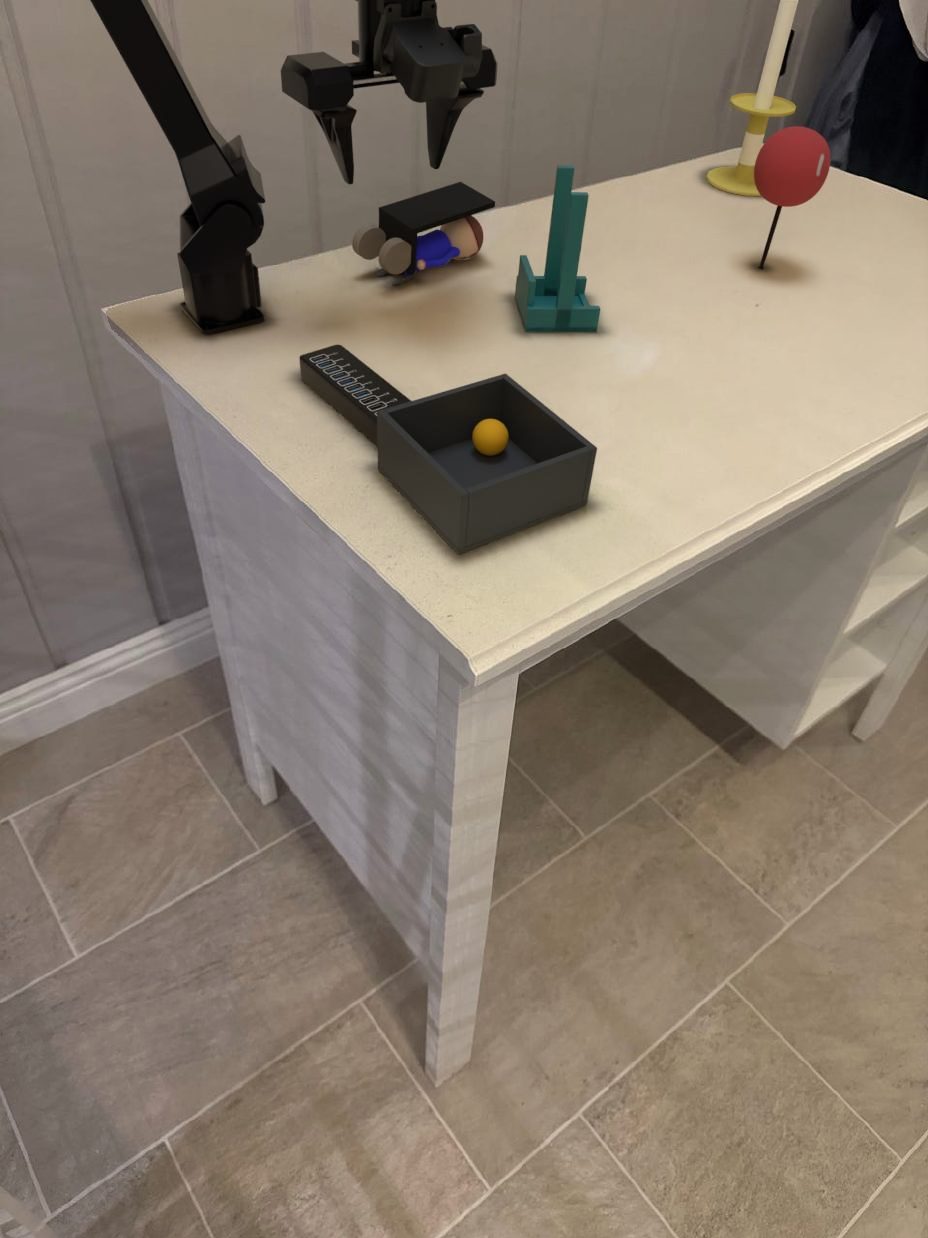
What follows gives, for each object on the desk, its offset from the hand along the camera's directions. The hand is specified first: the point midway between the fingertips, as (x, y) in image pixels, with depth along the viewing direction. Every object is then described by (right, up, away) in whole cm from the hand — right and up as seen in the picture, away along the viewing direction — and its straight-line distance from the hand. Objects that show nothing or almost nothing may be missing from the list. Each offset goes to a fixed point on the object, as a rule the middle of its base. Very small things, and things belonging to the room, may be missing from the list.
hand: (392, 175), depth 86 cm
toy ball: (+9, -26, -10) cm, 30 cm away
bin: (+8, -31, -12) cm, 34 cm away
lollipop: (+41, -1, +21) cm, 46 cm away
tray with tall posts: (+16, -10, +10) cm, 21 cm away
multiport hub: (-2, -23, -4) cm, 23 cm away
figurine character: (+2, -3, +16) cm, 16 cm away
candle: (+45, +18, +40) cm, 63 cm away
